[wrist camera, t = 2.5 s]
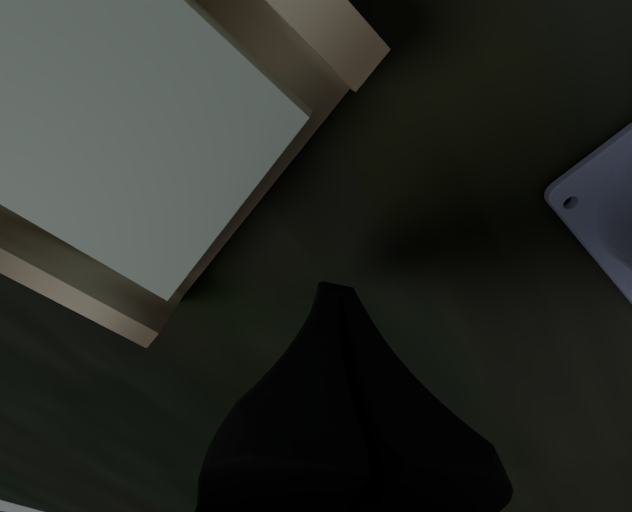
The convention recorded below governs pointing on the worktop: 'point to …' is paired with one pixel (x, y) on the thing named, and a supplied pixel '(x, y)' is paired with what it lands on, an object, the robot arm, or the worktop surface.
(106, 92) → the cover plate
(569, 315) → the worktop surface
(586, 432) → the worktop surface
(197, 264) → the slide case
